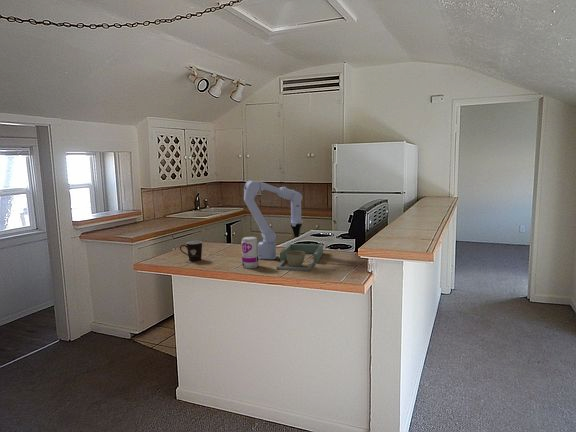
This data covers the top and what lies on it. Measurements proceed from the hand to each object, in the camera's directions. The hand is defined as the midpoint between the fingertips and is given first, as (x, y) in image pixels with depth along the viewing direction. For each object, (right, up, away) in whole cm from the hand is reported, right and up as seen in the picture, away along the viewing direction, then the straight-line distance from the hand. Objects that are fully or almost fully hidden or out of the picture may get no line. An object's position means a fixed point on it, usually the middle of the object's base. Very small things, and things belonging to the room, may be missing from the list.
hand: (296, 236), depth 240 cm
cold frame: (+3, -11, -5) cm, 13 cm away
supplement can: (-24, -14, -20) cm, 35 cm away
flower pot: (-1, -14, -22) cm, 26 cm away
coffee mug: (-57, -13, -4) cm, 59 cm away
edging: (-1, -14, -22) cm, 26 cm away
